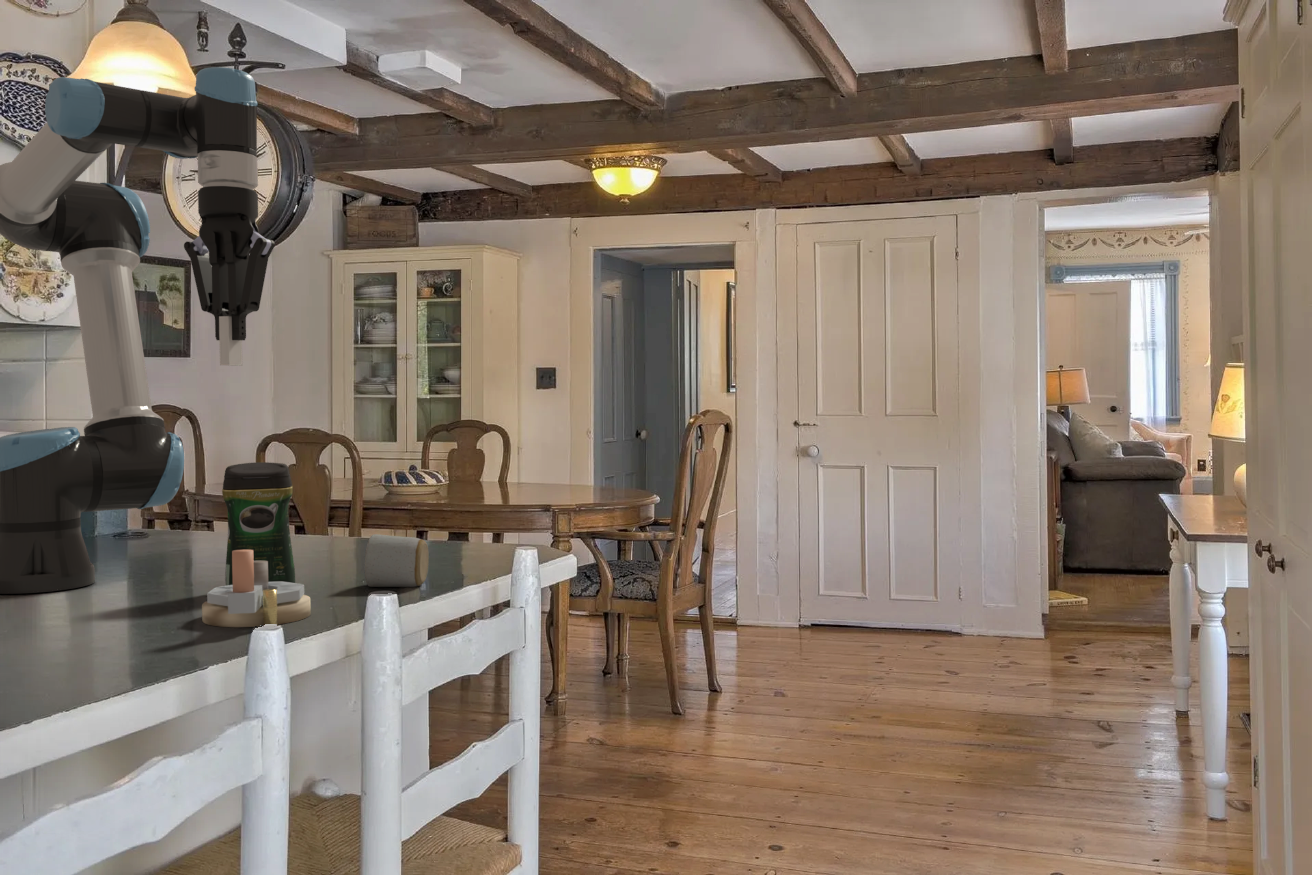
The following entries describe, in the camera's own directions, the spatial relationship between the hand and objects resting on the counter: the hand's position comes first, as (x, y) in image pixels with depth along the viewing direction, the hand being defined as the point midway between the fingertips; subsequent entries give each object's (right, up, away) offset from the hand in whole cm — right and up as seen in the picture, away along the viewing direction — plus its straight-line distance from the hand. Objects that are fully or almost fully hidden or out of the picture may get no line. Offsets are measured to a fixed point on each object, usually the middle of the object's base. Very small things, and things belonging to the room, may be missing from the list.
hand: (231, 365), depth 156 cm
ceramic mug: (+19, -32, +16) cm, 40 cm away
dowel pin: (+10, -33, -15) cm, 38 cm away
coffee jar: (0, -32, +11) cm, 34 cm away
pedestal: (+6, -33, -9) cm, 34 cm away
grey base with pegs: (+7, -30, -11) cm, 33 cm away
